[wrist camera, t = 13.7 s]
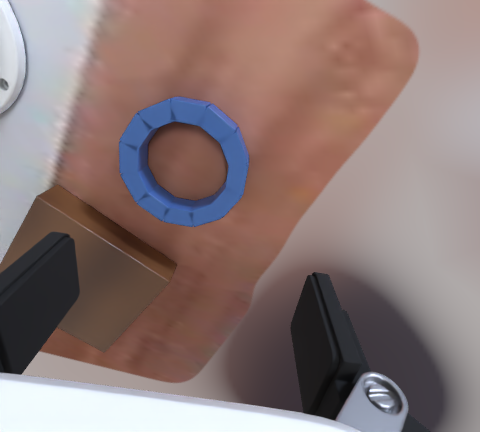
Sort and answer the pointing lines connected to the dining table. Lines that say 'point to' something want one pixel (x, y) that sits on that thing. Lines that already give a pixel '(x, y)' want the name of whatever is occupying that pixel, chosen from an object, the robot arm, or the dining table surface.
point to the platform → (96, 266)
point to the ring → (144, 183)
